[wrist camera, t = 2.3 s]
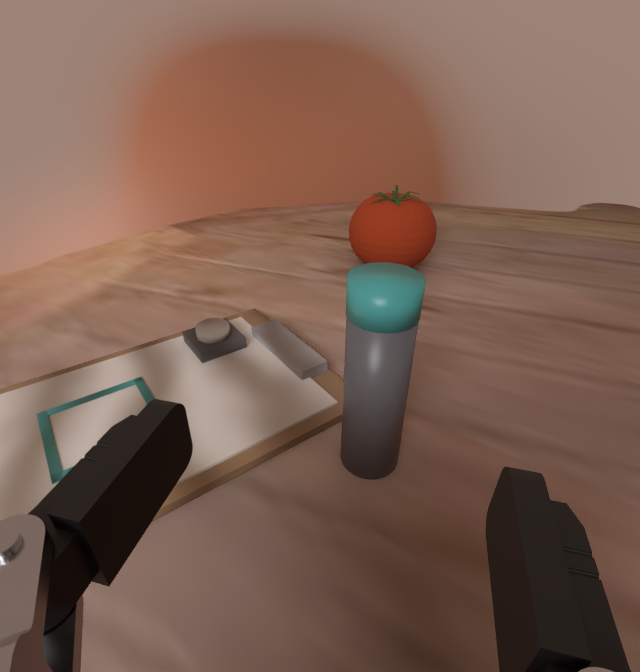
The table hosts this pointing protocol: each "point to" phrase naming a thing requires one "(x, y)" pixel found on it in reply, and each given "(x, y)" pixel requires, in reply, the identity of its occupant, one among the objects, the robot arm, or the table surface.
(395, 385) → the marker
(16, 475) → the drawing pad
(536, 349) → the table surface
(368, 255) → the tomato
